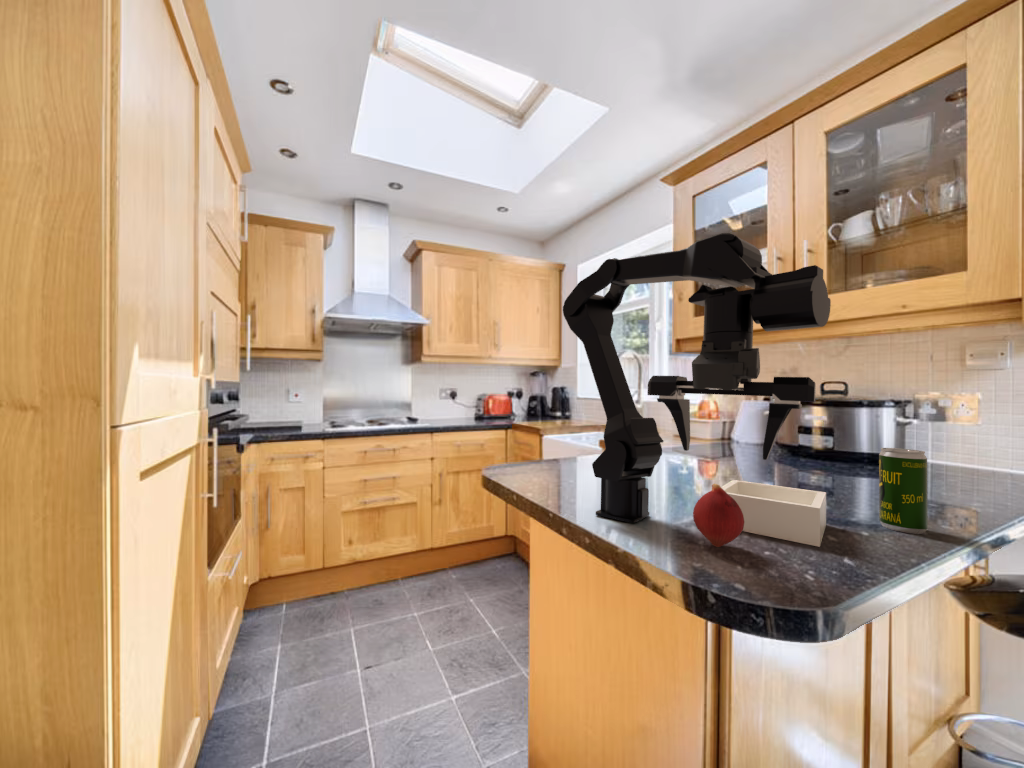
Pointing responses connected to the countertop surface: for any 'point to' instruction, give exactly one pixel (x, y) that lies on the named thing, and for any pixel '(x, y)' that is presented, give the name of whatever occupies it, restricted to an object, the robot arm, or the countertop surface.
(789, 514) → the bin
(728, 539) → the onion
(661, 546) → the countertop surface
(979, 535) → the countertop surface
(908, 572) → the countertop surface
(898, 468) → the green soda can
